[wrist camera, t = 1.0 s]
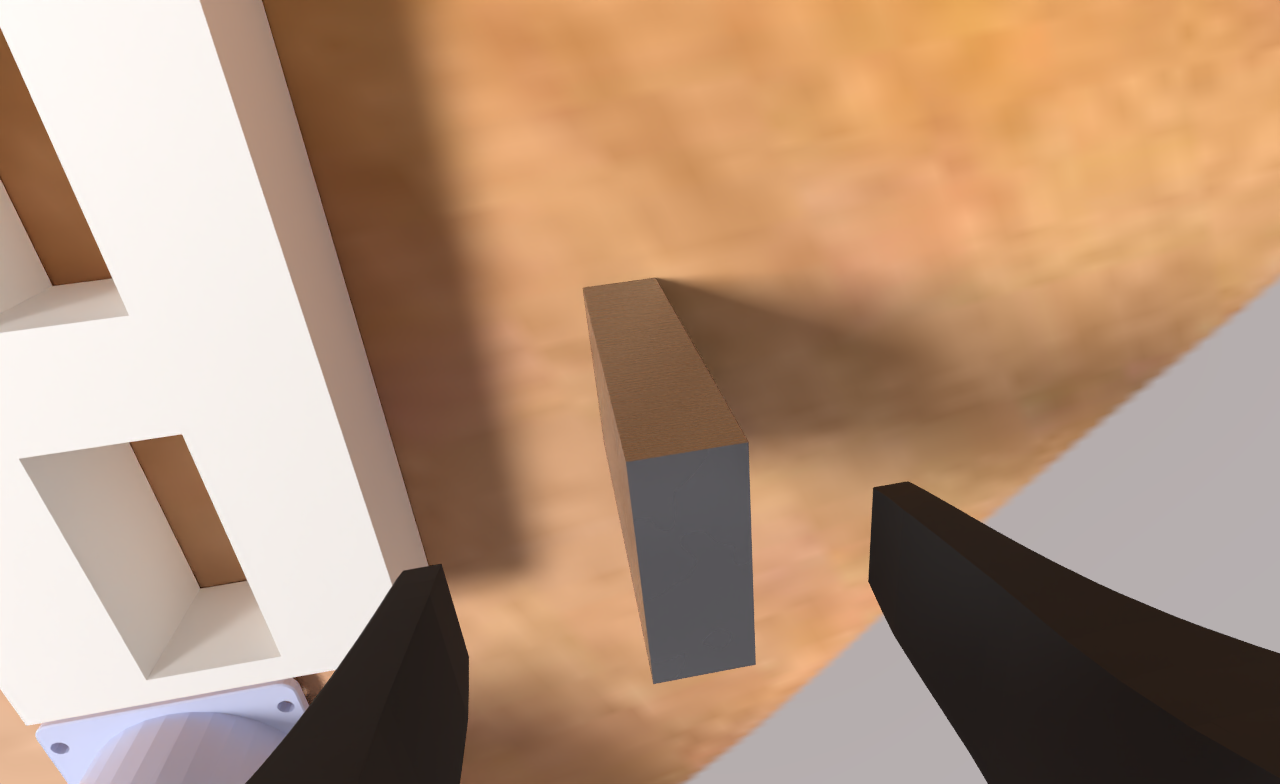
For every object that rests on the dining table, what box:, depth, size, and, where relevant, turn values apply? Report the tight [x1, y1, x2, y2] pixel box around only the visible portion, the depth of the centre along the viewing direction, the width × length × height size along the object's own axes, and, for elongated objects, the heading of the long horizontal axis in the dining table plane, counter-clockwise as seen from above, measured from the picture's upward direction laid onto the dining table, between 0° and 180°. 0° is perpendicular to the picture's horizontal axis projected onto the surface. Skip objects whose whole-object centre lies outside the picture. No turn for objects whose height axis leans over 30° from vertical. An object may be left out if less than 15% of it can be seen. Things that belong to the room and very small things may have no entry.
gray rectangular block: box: [583, 278, 756, 684], centre depth 17 cm, size 5×2×9 cm, turn 6°
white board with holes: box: [0, 0, 428, 726], centre depth 17 cm, size 18×10×4 cm, turn 6°
